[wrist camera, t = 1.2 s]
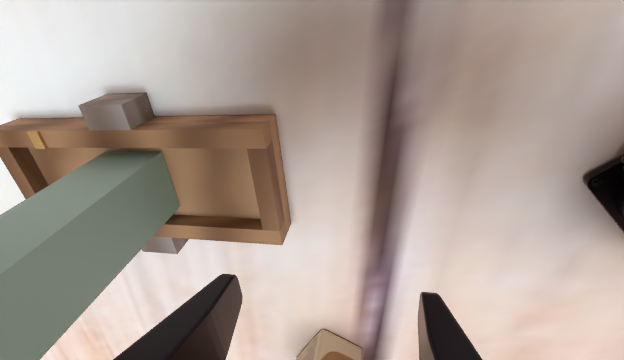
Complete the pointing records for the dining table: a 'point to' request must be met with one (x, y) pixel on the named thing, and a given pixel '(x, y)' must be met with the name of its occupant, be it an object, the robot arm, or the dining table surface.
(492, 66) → the dining table surface
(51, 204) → the grey-green tall block
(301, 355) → the skincare box
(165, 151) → the wooden tray
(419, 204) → the dining table surface
